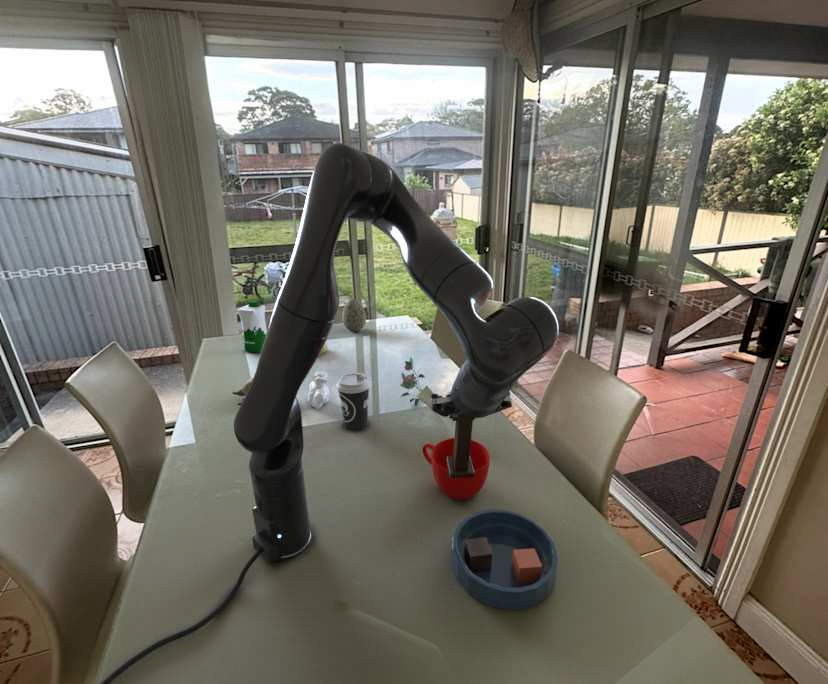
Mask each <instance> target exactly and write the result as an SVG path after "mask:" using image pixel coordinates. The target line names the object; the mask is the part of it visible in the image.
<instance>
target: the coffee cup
mask: <svg viewBox="0 0 828 684" xmlns="http://www.w3.org/2000/svg"><path fill="white" fill-rule="evenodd" d="M370 387H371V381H370V379H369V378H368V376H367V374H364V373H361V372H348V373H345V374H342V375H341V376H339V378H338V380H337V382H336V385H335V389H336V391H338V397H339V402H340V406H341V413H342V417H343V418H342V420H343V425H344V428H345V430H346V431H349V432H360V431H363V430H365V429H366V428H367V427H368V415H369V392H370Z"/></svg>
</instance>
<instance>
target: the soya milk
mask: <svg viewBox="0 0 828 684" xmlns="http://www.w3.org/2000/svg"><path fill="white" fill-rule="evenodd" d="M247 302H248V304H246V305H244V306H241V307H240V308H238V309H236V311H237V313H238V316H239V318H240V322H241V329H242V335H243V344H244V345H243V346H244V352H250V353H256V354H257V353H260V354H261V350H262V347H263V343H264V340H265V337H266V334H267V330H268V328H267V324H266V305H263V304H260V301H259V299H250V300H248V301H247Z"/></svg>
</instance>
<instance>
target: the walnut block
mask: <svg viewBox="0 0 828 684" xmlns="http://www.w3.org/2000/svg"><path fill="white" fill-rule="evenodd" d="M464 556H465V559H466V563H467V566H468V568H469V570H470V571H471V572H472V573H477V572H484V571H491V565H492V552H491V549H490V547H489V544H488V542H487V539H486V537H482V538H475V539H467V540H465V552H464Z"/></svg>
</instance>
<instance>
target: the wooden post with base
mask: <svg viewBox="0 0 828 684" xmlns="http://www.w3.org/2000/svg"><path fill="white" fill-rule="evenodd" d="M473 424H474V420H473V417H469V416H467V415H465V414H464V415H463V416H459V418H458V419H457V421H456V425H455V438H454V451H453V457H447V466H448V471H449V476H450V479H452V478H471V477H474V470H473V466H472V462H471V458H470V456H469V455H470V445H471V440H472V434H473Z"/></svg>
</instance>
